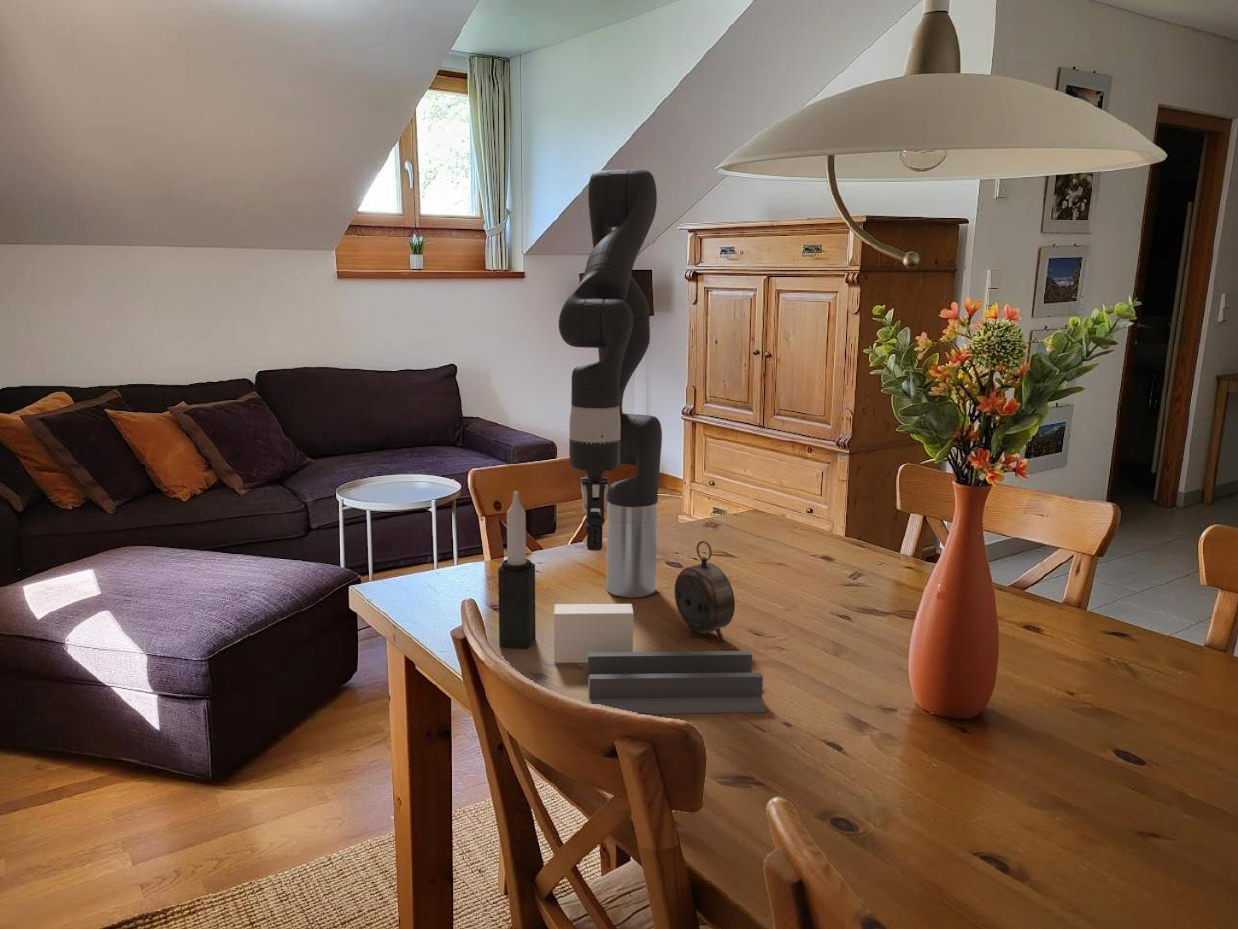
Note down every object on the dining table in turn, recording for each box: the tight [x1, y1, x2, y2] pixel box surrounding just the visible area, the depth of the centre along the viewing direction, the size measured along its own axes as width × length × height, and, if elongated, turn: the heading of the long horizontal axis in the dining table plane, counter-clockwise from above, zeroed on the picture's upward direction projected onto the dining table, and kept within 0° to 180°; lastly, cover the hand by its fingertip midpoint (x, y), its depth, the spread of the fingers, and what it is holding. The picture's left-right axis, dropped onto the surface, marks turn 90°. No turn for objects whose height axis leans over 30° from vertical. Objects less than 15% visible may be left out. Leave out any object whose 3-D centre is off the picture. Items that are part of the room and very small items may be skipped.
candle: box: [497, 490, 536, 650], centre depth 146 cm, size 5×5×25 cm
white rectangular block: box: [553, 603, 634, 664], centre depth 142 cm, size 4×12×8 cm, turn 93°
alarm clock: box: [674, 540, 736, 643], centre depth 150 cm, size 11×5×16 cm, turn 35°
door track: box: [587, 650, 767, 715], centre depth 132 cm, size 14×24×4 cm, turn 93°
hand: (593, 541), depth 139 cm, fingers open, 8 cm apart
